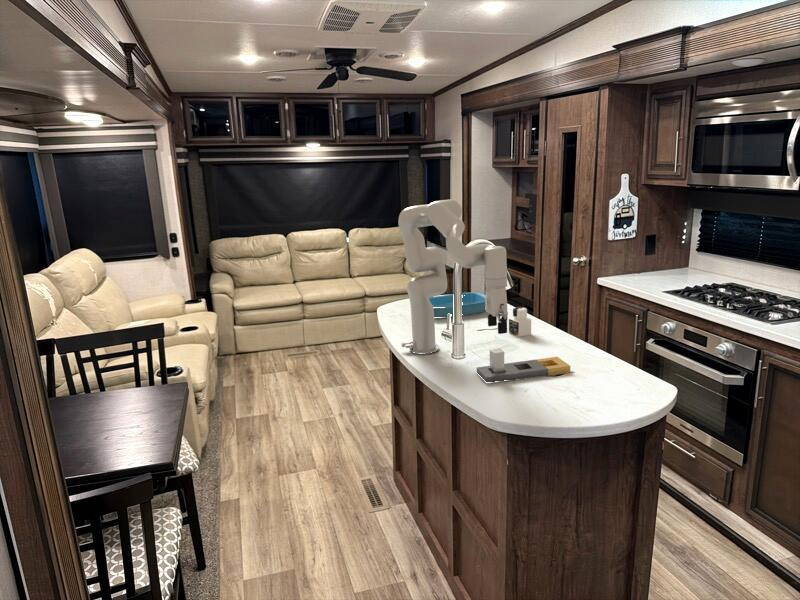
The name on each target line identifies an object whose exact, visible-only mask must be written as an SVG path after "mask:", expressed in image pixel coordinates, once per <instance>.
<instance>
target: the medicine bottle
mask: <svg viewBox="0 0 800 600" xmlns="http://www.w3.org/2000/svg"><path fill="white" fill-rule="evenodd" d="M508 334H510V335H513V336H514V337H517V338H521V337H525V336H526V337H527V336H529V335H530V336H531V335H532V319H531V318H530V317H528V309H527V308H526V307H524V306H516V307H514V308H512V317H509V318H508Z"/></svg>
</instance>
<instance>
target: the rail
mask: <svg viewBox="0 0 800 600" xmlns="http://www.w3.org/2000/svg"><path fill="white" fill-rule="evenodd" d="M567 372H569V373H571V365H570V364H569V363H567V362H566V361H564V360H563V359H561V358H560V357H559V356H553V357H545V358H537V359H530V360H523V361H516V362H508V363H504V372H502V373H495V374H493V373H492V372H491V371H490V365H486V366H478V367H476V374H477V373H478V374H479V375H480V376H481V377H482V378H483V379H484V380H485V381H486V382H495V381H504V380H512V381H517V380H516V379H520V380H526V379H525V378H527V379H532V378H540V377H547V376H554V375H555V376H556V375H562V374H567ZM478 374H477V375H478Z"/></svg>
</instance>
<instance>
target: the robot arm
mask: <svg viewBox="0 0 800 600" xmlns="http://www.w3.org/2000/svg"><path fill="white" fill-rule="evenodd" d="M462 210H463V209H462V206H461V204H460V203H459V202H458V201H457V200H454V199H451V198H450V199H441V200H435V201H433V202H430V203H429V204H419V205H413V206H409V207H406V208H404V209H403V210H401V212H400V213H399V214H398V215H399V216H398V222H397V223H398V224H397V225H398V227H399V233H400V235H401V238H402V240H403V248H404V254H405V260H406V266H407V269H408V271H409V272H411V273H412V274H420V273H424V272H428V274H423V275H418V276H415V277H412V278H411V279H410V280H409V281H408V282H407V285H406V291H407V294H408V299H409V305H410V317H411V335H412V338H411V339H410V340H409V341H407V342H401V348H406V349H410V350H409V352H410V351H412V352H415V353H431V352H435V351H437V350H438V351H439V350H440V346H439V344H437V343H436V327H435V325H436V323H435V318H434V308H433V305H432V304H431V302H430V301H429V298H430V297H436V296H442V295H444V293H445V292H447V290H448V278H447V272H446V271H447V270H446V265H445V264H446V263H445V258H444V255H443V253H442V251H441V250H440V249H439V248H438V247H435V246H429V247H426V243H425V242H426V241H425V237H424V234H423V233H422V231H420V229H419V228H422V227H423V228H424V227H429V226H434V227H435V228H436V229H437V230H438V232H439V233H440V234H441V235H442V236H443V237H444V238H445V246H446V250H447V253H448V255H449V256H450V257H451V259H453V261H455V263H456V264H457V265H458V266H460V267H461V268H464V269H471V268H475V267H481V266H483V267H484V287H485V292H484V293H485V294H484V295H485V309H484V310H485V312H487V313H486V314H487V326H488V327H496V326H497V334H498V335H501V334H503V335H504V334H507V333H508V314H509V312H508V298H507V289H506V287H508V270H507V269H508V267H507V263H508V262H507V249H506V247H505V246H502V245H493V244H490V243H480V244H479V243H478V244H473V245H469V246H466V245H465V244H463V242H461V240H459V238H460V237H461V236H462V235H463V234H464V231H465V228H466V226H465V223H464V221H463V220H462V219H461V217H462V215H463V211H462ZM438 351H437V352H438ZM412 352H411V353H412ZM435 353H436V352H435Z"/></svg>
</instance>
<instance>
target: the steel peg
mask: <svg viewBox="0 0 800 600" xmlns="http://www.w3.org/2000/svg"><path fill="white" fill-rule="evenodd" d="M504 364H505V351H504V350H503V349H502V348H492V349H491V348H490V349H489V366H490V371H491V372H492V373H493V374H495V373H502V372H504Z"/></svg>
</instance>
